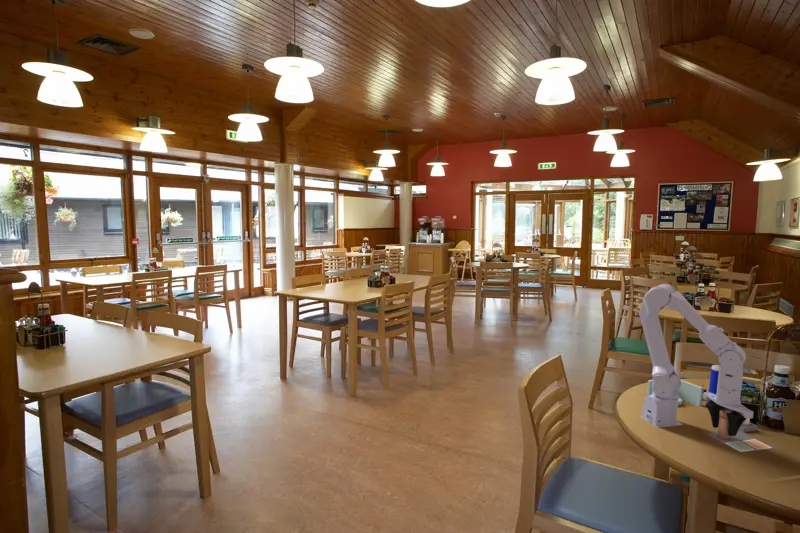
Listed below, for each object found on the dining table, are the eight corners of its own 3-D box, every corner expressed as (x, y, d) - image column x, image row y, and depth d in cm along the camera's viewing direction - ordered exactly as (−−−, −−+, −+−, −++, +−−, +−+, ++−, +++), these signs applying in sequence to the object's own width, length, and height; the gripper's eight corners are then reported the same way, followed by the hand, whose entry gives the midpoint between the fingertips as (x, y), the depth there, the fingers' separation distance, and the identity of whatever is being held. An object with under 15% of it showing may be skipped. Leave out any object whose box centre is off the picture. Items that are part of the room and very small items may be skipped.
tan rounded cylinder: (723, 440, 138) (726, 414, 137) (714, 435, 141) (717, 410, 140) (732, 439, 138) (735, 413, 137) (723, 434, 141) (725, 409, 140)
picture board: (740, 454, 131) (740, 452, 131) (706, 435, 142) (706, 433, 142) (774, 450, 134) (774, 448, 134) (738, 432, 144) (738, 430, 144)
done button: (743, 426, 144) (744, 420, 144) (733, 421, 147) (734, 415, 147) (751, 425, 145) (752, 419, 145) (742, 420, 148) (742, 414, 148)
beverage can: (724, 413, 158) (729, 370, 156) (706, 409, 161) (710, 367, 159) (725, 408, 162) (730, 366, 160) (707, 404, 165) (712, 363, 163)
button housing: (743, 433, 143) (743, 427, 143) (727, 426, 148) (728, 420, 148) (756, 432, 145) (757, 426, 144) (741, 424, 150) (741, 418, 149)
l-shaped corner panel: (646, 400, 169) (648, 380, 168) (669, 395, 174) (670, 375, 173) (677, 414, 158) (679, 392, 157) (700, 408, 163) (703, 387, 162)
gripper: (764, 396, 131) (758, 441, 133) (718, 377, 145) (713, 419, 147) (743, 397, 130) (738, 444, 131) (699, 379, 144) (695, 421, 146)
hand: (724, 431), depth 139 cm, fingers open, 5 cm apart
